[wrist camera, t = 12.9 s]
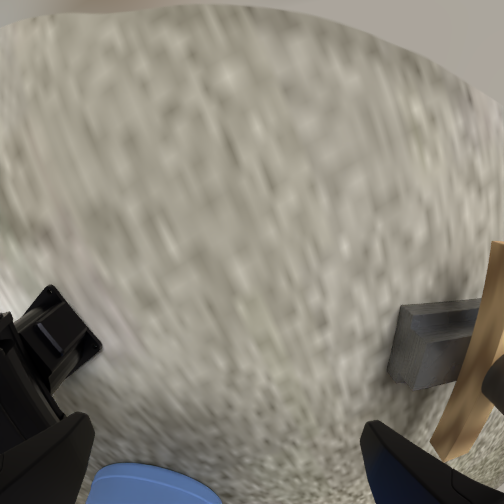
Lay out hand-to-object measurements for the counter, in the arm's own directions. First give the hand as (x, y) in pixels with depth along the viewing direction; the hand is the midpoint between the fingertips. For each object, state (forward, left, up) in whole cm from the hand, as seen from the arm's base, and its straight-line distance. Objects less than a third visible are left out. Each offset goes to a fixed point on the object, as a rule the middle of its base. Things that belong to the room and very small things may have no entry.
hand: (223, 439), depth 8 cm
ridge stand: (+12, -15, -13) cm, 23 cm away
